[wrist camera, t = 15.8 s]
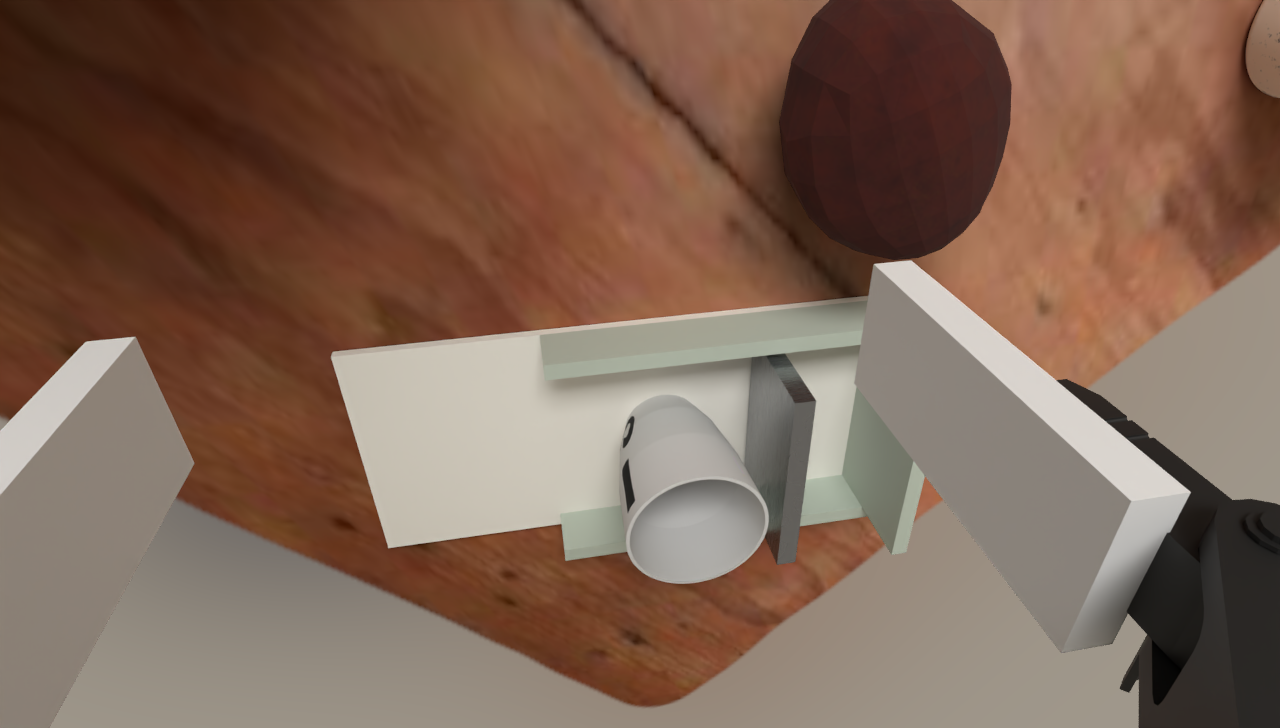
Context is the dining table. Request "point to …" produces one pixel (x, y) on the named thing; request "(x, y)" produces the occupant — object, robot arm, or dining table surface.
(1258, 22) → the teacup with lid
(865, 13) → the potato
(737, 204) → the dining table surface
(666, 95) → the dining table surface
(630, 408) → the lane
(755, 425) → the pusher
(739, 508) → the cup
